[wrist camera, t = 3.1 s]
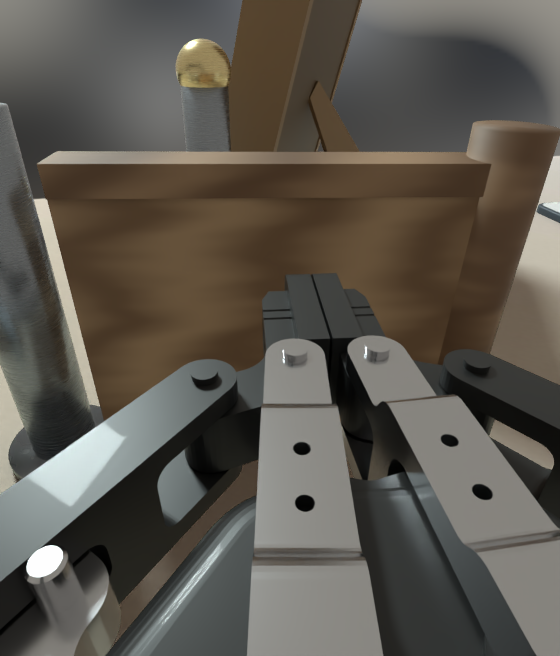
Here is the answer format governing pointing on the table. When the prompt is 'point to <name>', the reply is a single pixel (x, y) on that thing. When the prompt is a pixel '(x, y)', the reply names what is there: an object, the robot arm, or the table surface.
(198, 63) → the post
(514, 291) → the table surface
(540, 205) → the smartphone
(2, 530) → the robot arm
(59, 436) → the hinge post
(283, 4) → the photo frame
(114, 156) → the gate
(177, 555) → the table surface
